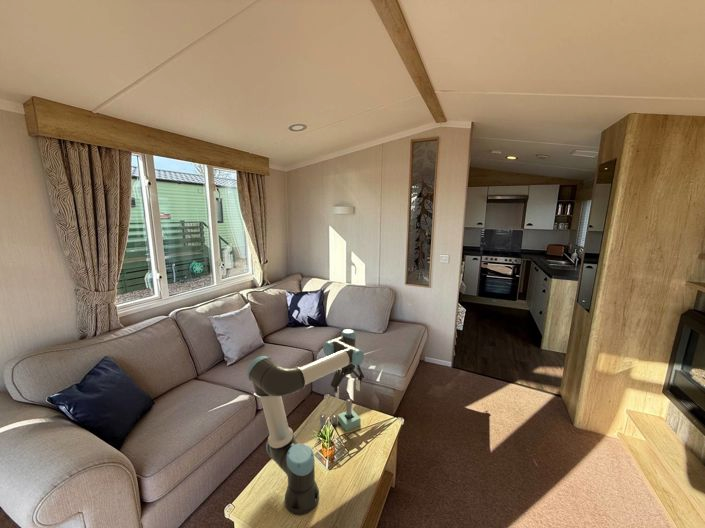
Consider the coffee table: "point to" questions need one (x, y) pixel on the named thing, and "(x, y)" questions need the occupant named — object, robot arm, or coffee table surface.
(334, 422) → the short steel pin
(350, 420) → the teal collar block
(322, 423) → the medium steel pin
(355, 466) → the coffee table surface
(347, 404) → the long steel pin
